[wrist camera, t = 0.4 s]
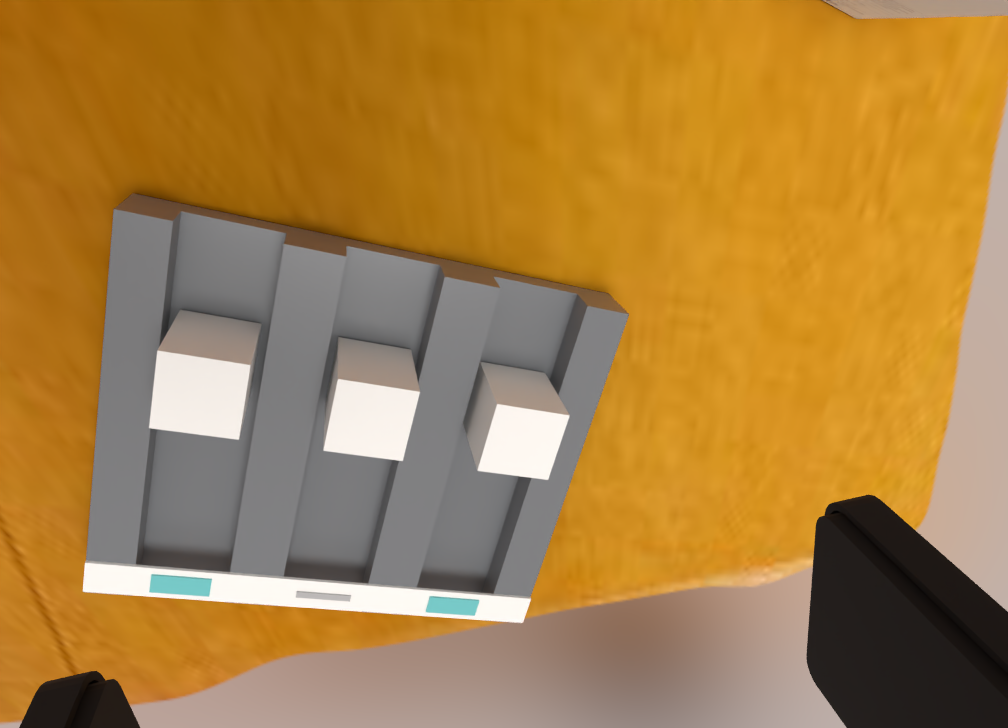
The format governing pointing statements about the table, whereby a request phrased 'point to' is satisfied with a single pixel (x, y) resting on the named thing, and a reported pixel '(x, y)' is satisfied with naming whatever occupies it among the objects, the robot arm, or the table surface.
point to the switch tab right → (514, 421)
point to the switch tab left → (204, 375)
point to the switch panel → (301, 415)
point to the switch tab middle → (370, 400)
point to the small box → (920, 8)
